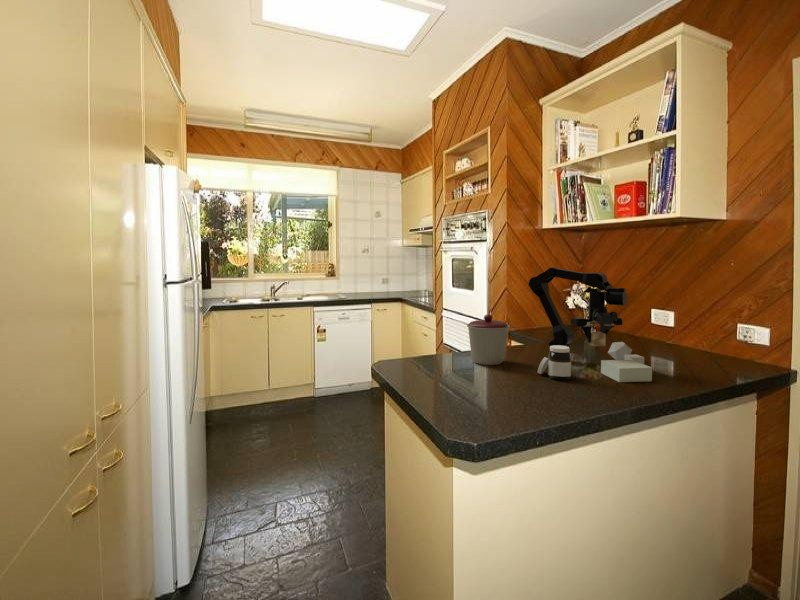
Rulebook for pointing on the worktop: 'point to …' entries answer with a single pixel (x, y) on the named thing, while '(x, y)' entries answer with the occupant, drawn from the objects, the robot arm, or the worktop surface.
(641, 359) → the grey cube
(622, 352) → the die
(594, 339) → the oak cube
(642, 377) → the sage base block
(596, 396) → the worktop surface
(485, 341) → the canister
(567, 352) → the spread jar
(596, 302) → the robot arm
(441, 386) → the worktop surface
